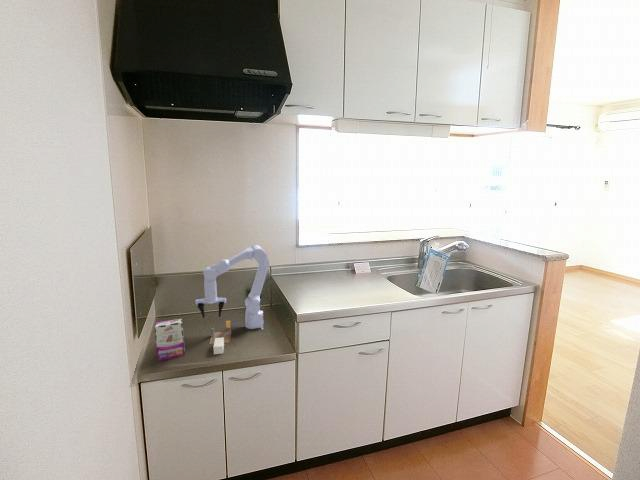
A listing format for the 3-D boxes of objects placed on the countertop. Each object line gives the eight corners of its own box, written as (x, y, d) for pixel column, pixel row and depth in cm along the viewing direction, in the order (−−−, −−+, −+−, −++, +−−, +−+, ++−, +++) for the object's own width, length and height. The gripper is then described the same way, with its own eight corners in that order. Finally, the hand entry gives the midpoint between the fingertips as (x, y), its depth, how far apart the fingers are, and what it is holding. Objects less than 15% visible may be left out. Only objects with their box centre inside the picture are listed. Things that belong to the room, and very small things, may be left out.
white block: (224, 345, 159) (223, 337, 158) (223, 354, 151) (222, 346, 150) (215, 345, 158) (215, 338, 157) (213, 355, 150) (213, 347, 149)
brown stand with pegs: (231, 332, 171) (231, 324, 170) (230, 343, 161) (230, 334, 160) (211, 334, 169) (211, 325, 168) (209, 345, 159) (209, 336, 158)
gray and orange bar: (245, 324, 169) (245, 319, 169) (245, 326, 167) (245, 321, 167) (226, 326, 167) (226, 320, 167) (226, 328, 165) (225, 322, 165)
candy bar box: (184, 350, 154) (182, 317, 150) (185, 356, 149) (182, 322, 146) (157, 355, 149) (154, 321, 146) (157, 361, 145) (154, 326, 141)
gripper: (193, 294, 159) (195, 321, 162) (225, 293, 162) (226, 319, 165) (196, 289, 166) (197, 314, 169) (226, 288, 169) (227, 313, 172)
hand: (211, 316), depth 168 cm, fingers open, 7 cm apart
